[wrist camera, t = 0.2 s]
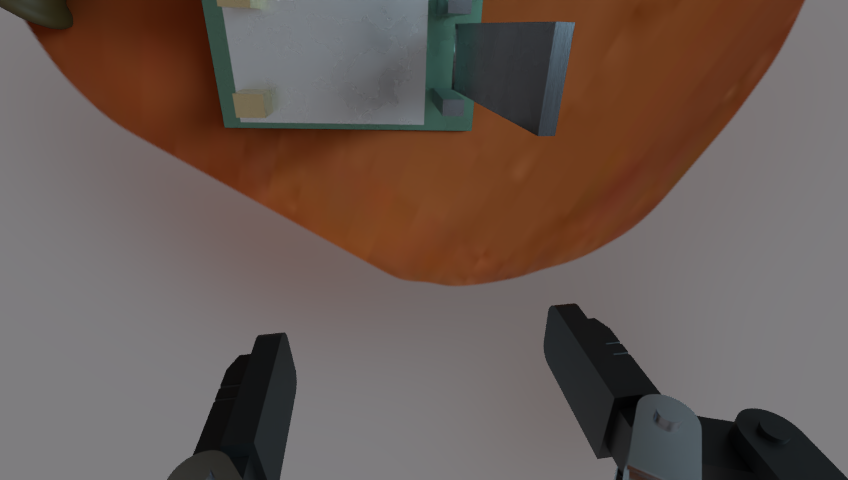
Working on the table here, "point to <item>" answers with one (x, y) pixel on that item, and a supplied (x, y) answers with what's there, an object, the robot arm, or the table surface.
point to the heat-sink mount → (339, 63)
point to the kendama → (41, 12)
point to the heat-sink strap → (514, 69)
